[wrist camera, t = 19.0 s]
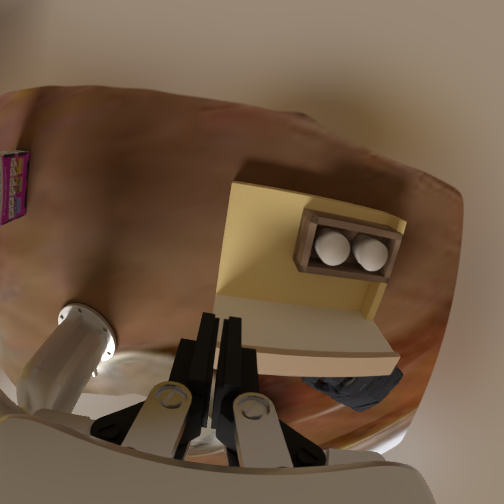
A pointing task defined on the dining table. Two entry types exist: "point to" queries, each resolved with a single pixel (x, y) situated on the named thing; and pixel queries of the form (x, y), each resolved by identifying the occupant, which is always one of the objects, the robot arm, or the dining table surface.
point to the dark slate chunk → (357, 388)
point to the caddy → (345, 247)
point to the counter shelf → (297, 290)
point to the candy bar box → (13, 184)
